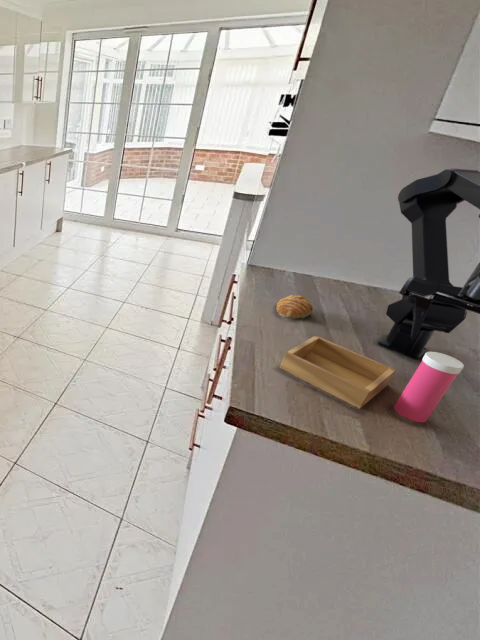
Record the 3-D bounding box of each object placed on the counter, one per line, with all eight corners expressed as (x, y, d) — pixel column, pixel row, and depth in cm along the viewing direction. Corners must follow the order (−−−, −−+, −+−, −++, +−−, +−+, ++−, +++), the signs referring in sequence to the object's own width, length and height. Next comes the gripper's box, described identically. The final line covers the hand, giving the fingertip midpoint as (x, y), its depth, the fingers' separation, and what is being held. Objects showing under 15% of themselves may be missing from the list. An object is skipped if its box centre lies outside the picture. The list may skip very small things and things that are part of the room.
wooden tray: (307, 352, 86) (315, 335, 84) (385, 388, 76) (396, 369, 74) (277, 370, 80) (285, 352, 78) (358, 412, 70) (369, 392, 68)
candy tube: (395, 404, 72) (430, 348, 67) (428, 420, 69) (467, 362, 64) (387, 413, 70) (422, 356, 65) (420, 429, 67) (459, 371, 62)
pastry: (300, 326, 95) (306, 311, 94) (267, 314, 100) (273, 300, 99) (312, 313, 101) (318, 300, 99) (280, 303, 106) (285, 290, 104)
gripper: (433, 238, 69) (380, 320, 71) (622, 285, 56) (552, 382, 58) (423, 254, 77) (377, 327, 79) (587, 298, 64) (526, 384, 66)
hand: (448, 352), depth 70 cm, fingers open, 9 cm apart
